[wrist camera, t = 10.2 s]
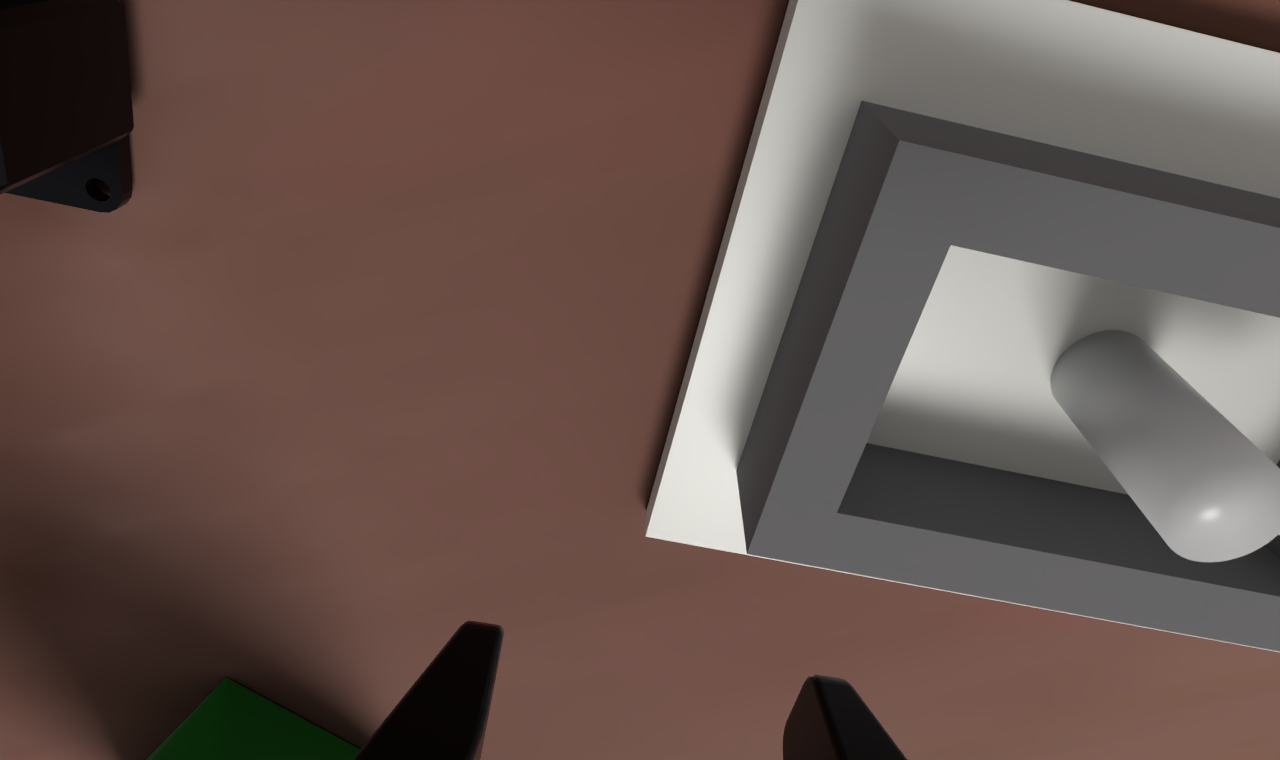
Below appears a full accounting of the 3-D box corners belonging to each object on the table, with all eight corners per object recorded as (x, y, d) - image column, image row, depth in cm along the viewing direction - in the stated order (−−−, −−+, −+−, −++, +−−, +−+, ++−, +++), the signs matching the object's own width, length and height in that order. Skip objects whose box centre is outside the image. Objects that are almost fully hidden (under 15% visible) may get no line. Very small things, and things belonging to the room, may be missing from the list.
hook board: (645, 511, 23) (641, 696, 18) (807, -66, 16) (878, -44, 11) (1260, 625, 24) (1423, 825, 19) (1650, 145, 17) (2072, 254, 12)
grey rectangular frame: (736, 470, 21) (746, 554, 18) (861, 100, 16) (899, 140, 14) (1258, 571, 22) (1338, 662, 19) (1507, 251, 18) (1654, 314, 15)
